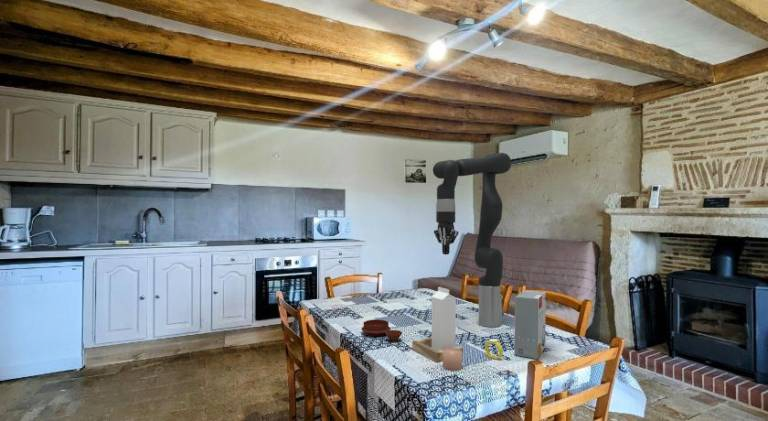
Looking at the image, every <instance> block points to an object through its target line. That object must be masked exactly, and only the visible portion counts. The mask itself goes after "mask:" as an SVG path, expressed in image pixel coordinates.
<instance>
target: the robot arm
mask: <svg viewBox="0 0 768 421" xmlns="http://www.w3.org/2000/svg"><path fill="white" fill-rule="evenodd" d="M511 168H512V160H511V157H510V155H508V154H507V153H504V152H498V153H491V154H487V155H485V156H484V157H474V158H473V157H472V158H461V159H460V158H459V159H456V160H454V159H447V160H442V161H438V162H436V163H435V164H434V165H433V168H432V173H433V175H434V176H435V177H436V178H437V179H441V180H442V183H440V184H439V185H438V186H437V187H436V204H435V211H436V212H435V214H436V217H435V218H436V219H435V221H436V223H437V228H436V229H434V230H433V234H434V235H435V238H436V239H437V243H438V244H441V250H442V251H441V252H442V254H443V255H447V256H448V255H449V254H450V245H452V244H454V243H455V241H456V240H457V237H458V235H459V231H458V230H456V229H455V225H454V224H455V223H456V200H455V196H456V195H455V193H456V191H455V188H456V185H457V183H458V178H459V177H466V176H467V177H468V176H472V175H473V176H474V175H478V174H482V190H481V203H480V211H479V212H480V215H479V226H478V228H479V229H478V234H477V235H478V236H477V242H476V246H475V251H474V262H475V264H476V266H477V267H478V268H480V269H481V268H482V269H485V274H484V275H483V276H481V277H478V325H480V326H481V327H482V326H483V327H486V328H497V327H498V328H499V327H501V325H503V303H502V301H501V282H502V279H503V270H504V269H503V267H504V266H503V265H504V258H503V254H502V252H501V250H500V249H498V248H494V247H491V242H492V239H493V238H492V237H493V235H494V233H495V231H496V230H497V228H498V226H499V225H500V223H501V221H502V217H503V216H502V215H503V200H502V198H501V197H500V194H499V192H498V190H497V187H496V175H501V174H506V173H507V172H509V170H511Z"/></svg>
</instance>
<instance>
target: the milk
mask: <svg viewBox="0 0 768 421" xmlns="http://www.w3.org/2000/svg"><path fill="white" fill-rule="evenodd" d="M437 287H438V288H437V291H436V292H435V293H434V294H433V295H432V296H431V337H432V347H431V348H433V349H435V350H437V351H441V350H443V349H445V348H454V347H457V343H456V342H457V340H456V338H457V337H456V336H457V332H456V330H457V329H456V326H457V325H456V324H457V321H456V318H457V317H456V316H457V315H456V314H457V313H456V309H457V308H456V307H457V306H456V305H457V304H456V303H457V302H456V301H457V300H456V299H457V298H456V297H455V296H453V295H452V294H450V289H449V288H445V287H441V286H437Z"/></svg>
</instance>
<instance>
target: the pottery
mask: <svg viewBox="0 0 768 421" xmlns="http://www.w3.org/2000/svg"><path fill="white" fill-rule="evenodd" d="M389 324H390V323H389V321H387V320H385V319H368V320H365V321H363V326H362V327H361V331H362V332H365V333H368V335H369V336H375V337H376V336H377V337H378V336H382V335H384V333H385V335H386V336H387V338H388V339H389V341H390V342H392V343H393V342H398V339H400V337H401V336H402V334H403V332H402V331H400V330H396V329H392V328H391V327H390V326H389ZM391 329H392V330H391Z"/></svg>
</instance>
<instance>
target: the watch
mask: <svg viewBox="0 0 768 421" xmlns="http://www.w3.org/2000/svg"><path fill="white" fill-rule="evenodd" d="M490 344H495V346H496V347H497V349H498V356H495V355H492V354H491V352H490V351H489V350H490V349H489V345H490ZM484 351H485V354H486V355H487V357H488V358H491V359H495V360H499V359H500V358H502V355H503V347H502V346H501V344H500V343H499V340H498V339H496V338H490V339H489V340H488V341H487V342H486V343H485V346H484Z"/></svg>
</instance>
